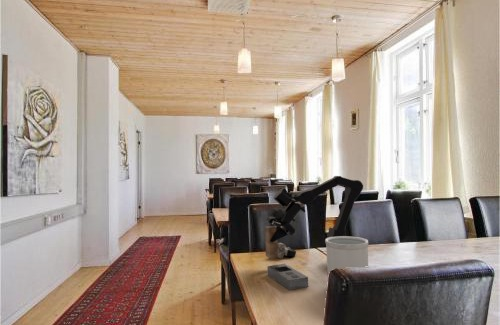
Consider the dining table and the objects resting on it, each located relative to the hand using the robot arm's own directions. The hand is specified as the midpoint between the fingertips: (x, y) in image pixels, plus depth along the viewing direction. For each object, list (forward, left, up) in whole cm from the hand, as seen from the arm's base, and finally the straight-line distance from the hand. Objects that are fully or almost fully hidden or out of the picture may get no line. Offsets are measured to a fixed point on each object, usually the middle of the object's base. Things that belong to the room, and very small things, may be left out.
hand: (268, 240), depth 133 cm
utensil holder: (-34, +12, -12) cm, 38 cm away
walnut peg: (-1, -1, -7) cm, 7 cm away
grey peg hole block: (-11, +11, -12) cm, 20 cm away
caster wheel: (0, -22, -13) cm, 25 cm away
